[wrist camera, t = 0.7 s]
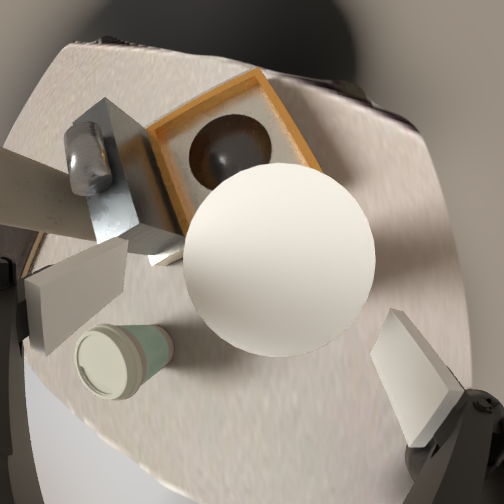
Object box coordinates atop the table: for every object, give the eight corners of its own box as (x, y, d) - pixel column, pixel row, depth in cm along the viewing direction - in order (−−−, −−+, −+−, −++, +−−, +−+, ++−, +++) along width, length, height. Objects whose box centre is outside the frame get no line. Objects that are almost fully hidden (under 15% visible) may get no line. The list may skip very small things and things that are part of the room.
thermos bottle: (86, 249, 43) (-80, 224, 15) (76, 204, 44) (-73, 159, 17) (124, 226, 41) (-56, 177, 14) (111, 179, 43) (-45, 109, 15)
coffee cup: (119, 333, 40) (60, 346, 29) (161, 302, 39) (103, 310, 27) (150, 385, 39) (96, 414, 27) (195, 359, 38) (147, 388, 26)
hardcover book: (12, 167, 51) (5, 164, 49) (54, 217, 46) (45, 215, 44) (-13, 228, 52) (-21, 227, 50) (24, 290, 47) (15, 290, 45)
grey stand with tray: (323, 187, 36) (322, 115, 19) (165, 266, 39) (68, 257, 22) (260, 80, 39) (224, -10, 22) (128, 155, 42) (46, 106, 25)
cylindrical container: (299, 228, 36) (252, 132, 12) (350, 263, 34) (411, 232, 10) (264, 279, 36) (151, 280, 12) (314, 315, 35) (296, 393, 11)
